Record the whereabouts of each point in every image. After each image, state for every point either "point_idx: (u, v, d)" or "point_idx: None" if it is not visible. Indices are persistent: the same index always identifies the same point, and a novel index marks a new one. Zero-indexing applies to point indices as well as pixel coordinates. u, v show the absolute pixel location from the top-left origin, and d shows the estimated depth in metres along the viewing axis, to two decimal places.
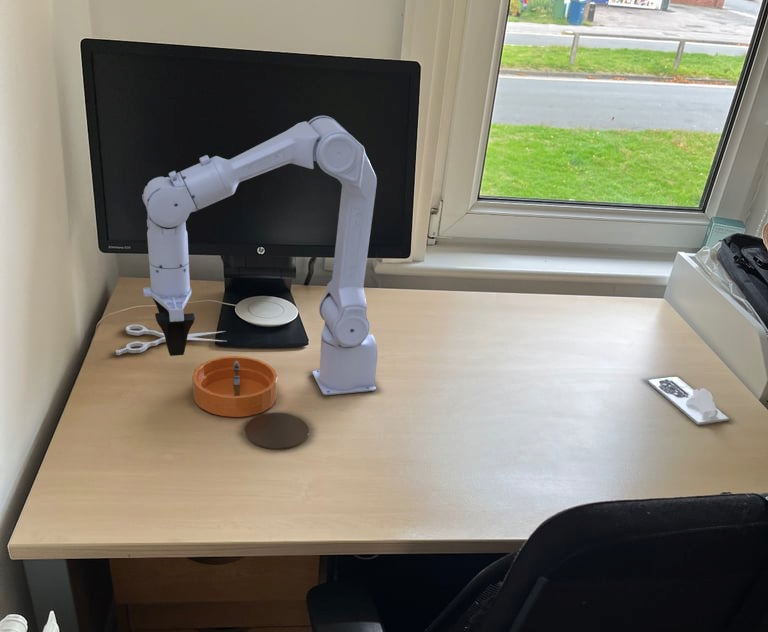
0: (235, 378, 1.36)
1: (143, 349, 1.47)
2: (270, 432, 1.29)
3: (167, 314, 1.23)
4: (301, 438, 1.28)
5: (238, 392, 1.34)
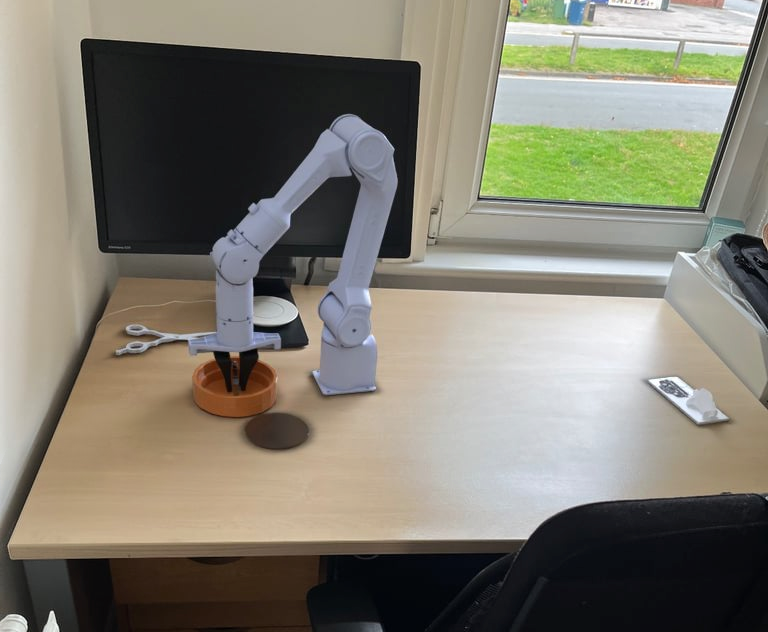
0: (234, 378, 1.36)
1: (143, 349, 1.47)
2: (270, 432, 1.29)
3: None
4: (301, 438, 1.28)
5: (237, 392, 1.34)
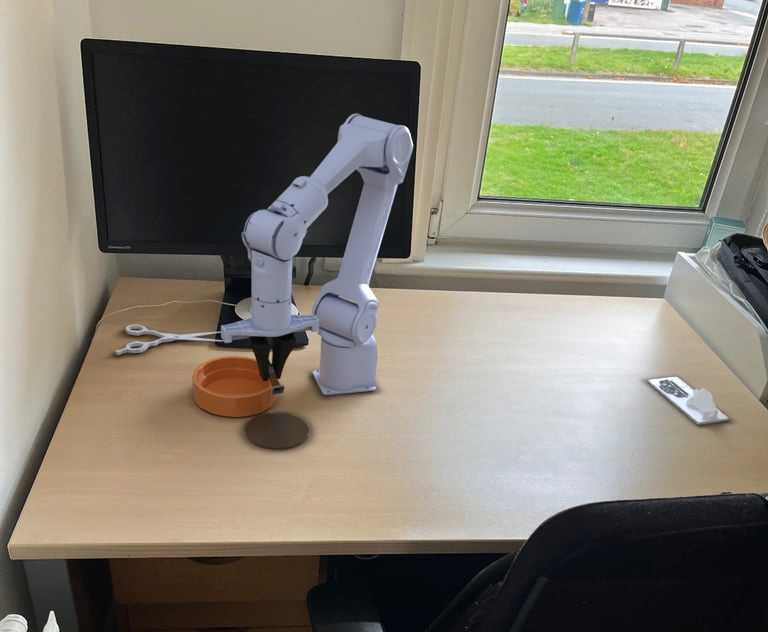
0: (268, 366, 1.25)
1: (143, 349, 1.47)
2: (270, 432, 1.29)
3: None
4: (301, 438, 1.28)
5: (276, 380, 1.24)
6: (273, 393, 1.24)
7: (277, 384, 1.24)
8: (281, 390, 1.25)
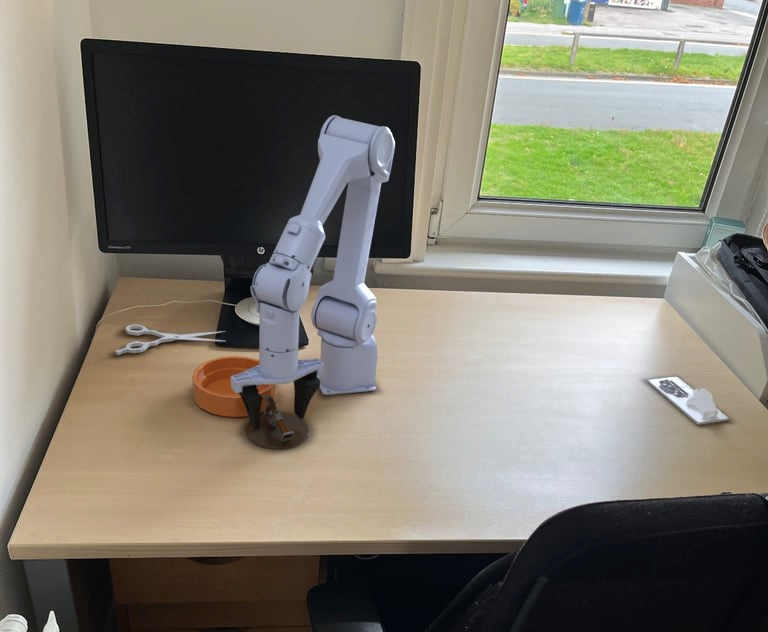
0: (276, 413, 1.28)
1: (143, 349, 1.47)
2: (270, 432, 1.29)
3: None
4: (301, 438, 1.28)
5: (285, 427, 1.27)
6: (282, 439, 1.27)
7: (286, 431, 1.27)
8: (290, 436, 1.28)
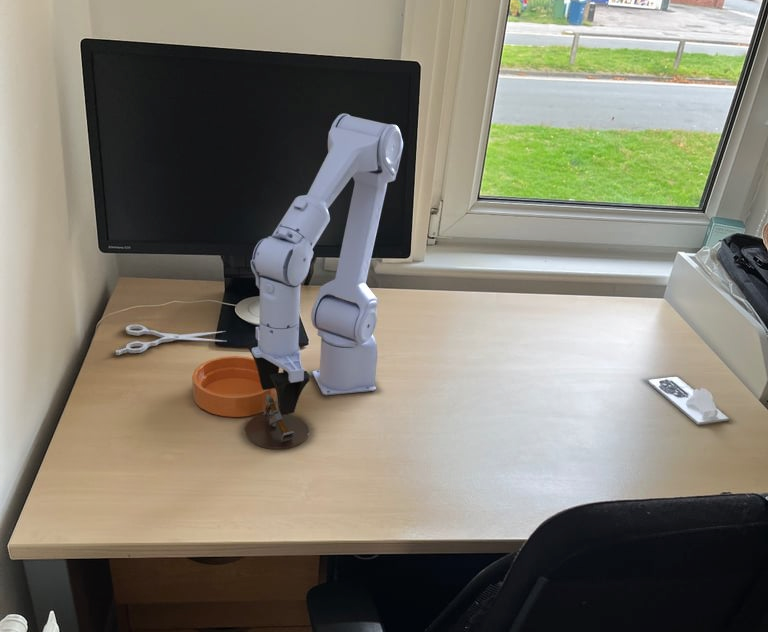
0: (276, 413, 1.28)
1: (143, 349, 1.47)
2: (270, 432, 1.29)
3: (282, 374, 1.19)
4: (301, 438, 1.28)
5: (285, 427, 1.27)
6: (282, 439, 1.27)
7: (286, 431, 1.27)
8: (290, 436, 1.28)
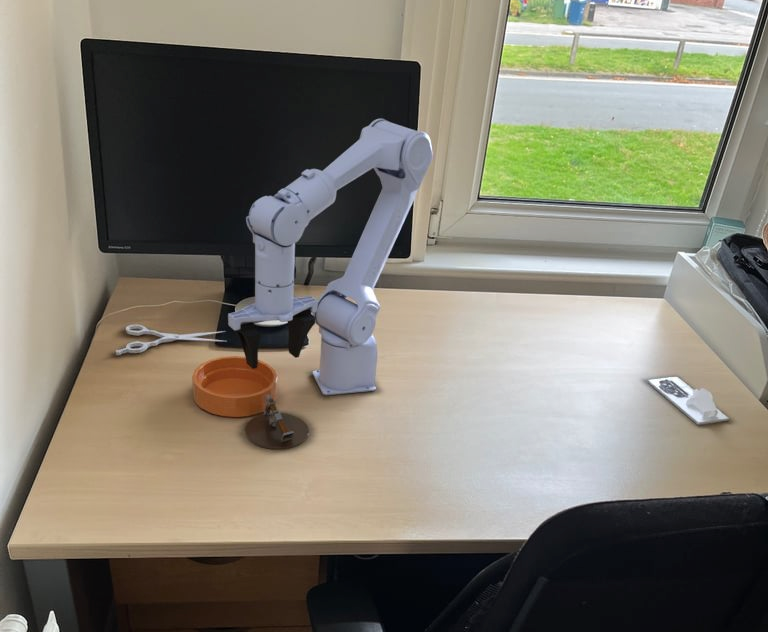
0: (276, 413, 1.28)
1: (143, 349, 1.47)
2: (270, 432, 1.29)
3: (302, 316, 1.28)
4: (301, 438, 1.28)
5: (285, 427, 1.27)
6: (282, 439, 1.27)
7: (286, 431, 1.27)
8: (290, 436, 1.28)
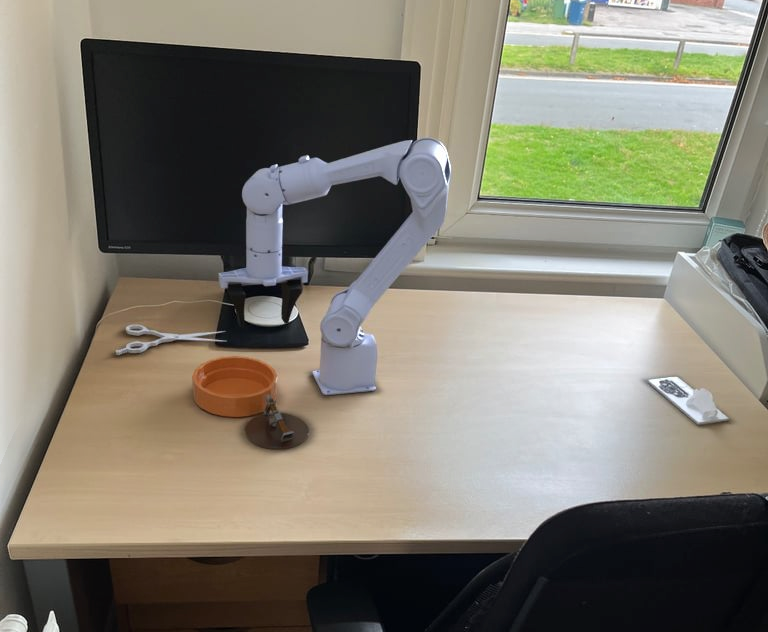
0: (276, 413, 1.28)
1: (143, 349, 1.47)
2: (270, 432, 1.29)
3: (291, 284, 1.37)
4: (301, 438, 1.28)
5: (285, 427, 1.27)
6: (282, 439, 1.27)
7: (286, 431, 1.27)
8: (290, 436, 1.28)
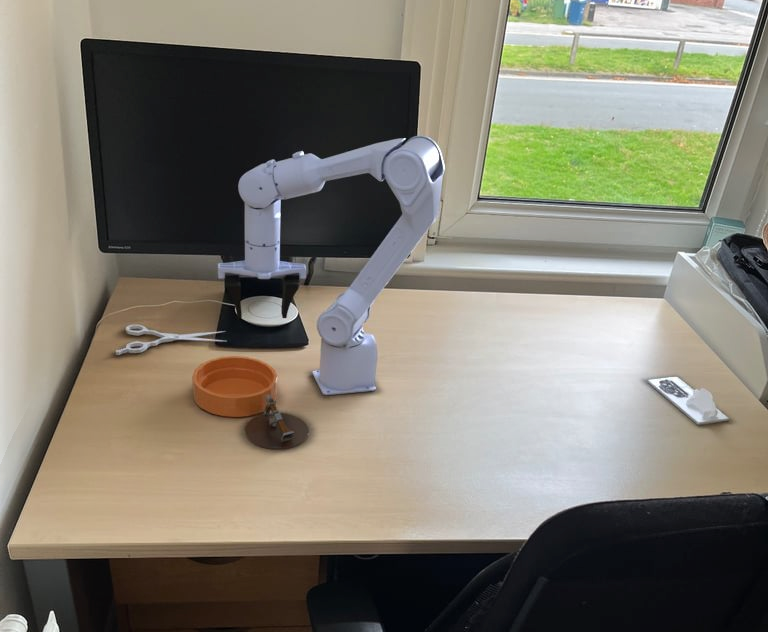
0: (276, 413, 1.28)
1: (143, 349, 1.47)
2: (270, 432, 1.29)
3: (288, 280, 1.39)
4: (301, 438, 1.28)
5: (285, 427, 1.27)
6: (282, 439, 1.27)
7: (286, 431, 1.27)
8: (290, 436, 1.28)
